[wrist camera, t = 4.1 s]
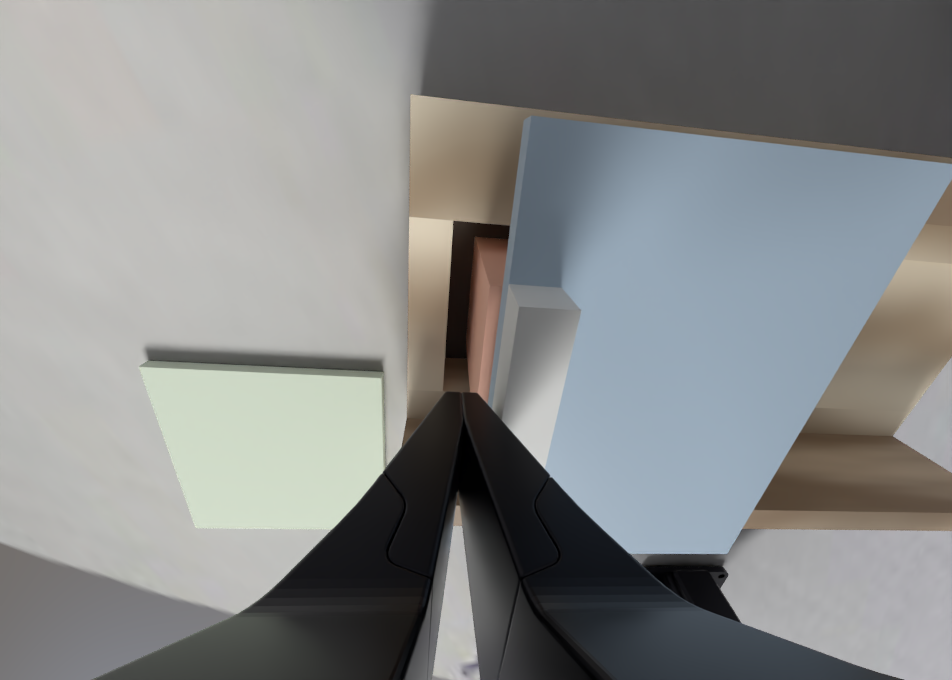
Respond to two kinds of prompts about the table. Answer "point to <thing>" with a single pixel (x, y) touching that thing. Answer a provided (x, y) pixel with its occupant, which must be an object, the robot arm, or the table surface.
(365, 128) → the table surface
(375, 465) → the sage mat
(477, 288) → the block
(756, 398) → the cover
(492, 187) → the open storage box
